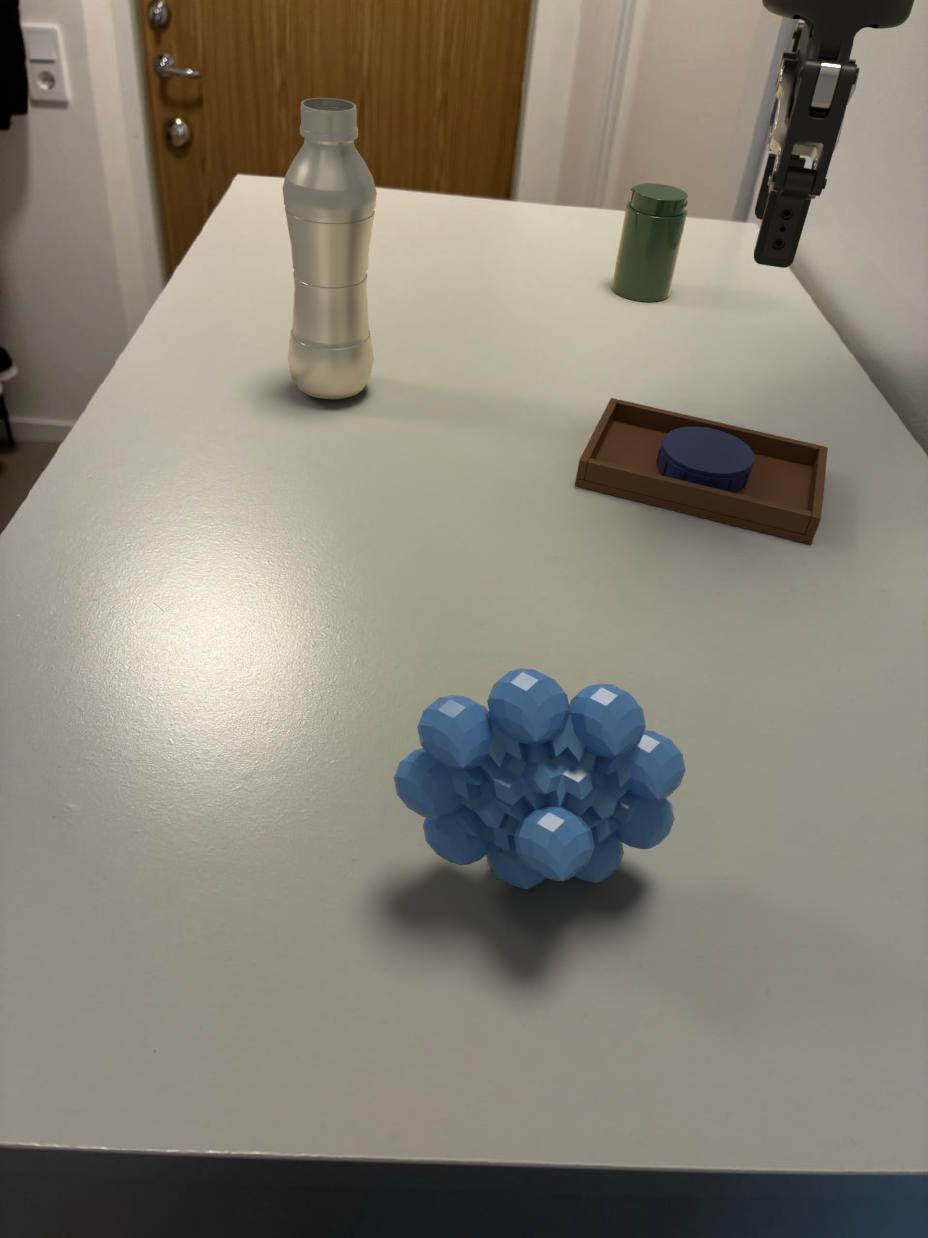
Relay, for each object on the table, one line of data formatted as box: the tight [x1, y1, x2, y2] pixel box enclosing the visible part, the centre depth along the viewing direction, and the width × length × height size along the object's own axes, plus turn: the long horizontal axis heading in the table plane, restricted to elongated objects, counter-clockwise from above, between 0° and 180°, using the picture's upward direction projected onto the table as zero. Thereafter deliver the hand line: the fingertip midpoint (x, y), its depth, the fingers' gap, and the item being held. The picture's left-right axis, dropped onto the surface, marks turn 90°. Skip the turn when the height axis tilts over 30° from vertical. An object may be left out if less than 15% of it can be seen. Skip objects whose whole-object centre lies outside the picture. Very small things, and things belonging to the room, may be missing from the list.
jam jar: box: [611, 182, 689, 303], centre depth 92 cm, size 6×6×10 cm
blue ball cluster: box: [393, 668, 686, 890], centre depth 37 cm, size 12×7×12 cm, turn 95°
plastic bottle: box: [282, 97, 378, 400], centre depth 68 cm, size 6×7×20 cm
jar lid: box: [656, 427, 754, 493], centre depth 67 cm, size 6×6×2 cm
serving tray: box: [574, 397, 829, 545], centre depth 67 cm, size 16×10×2 cm, turn 71°
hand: (770, 240), depth 57 cm, fingers open, 8 cm apart
